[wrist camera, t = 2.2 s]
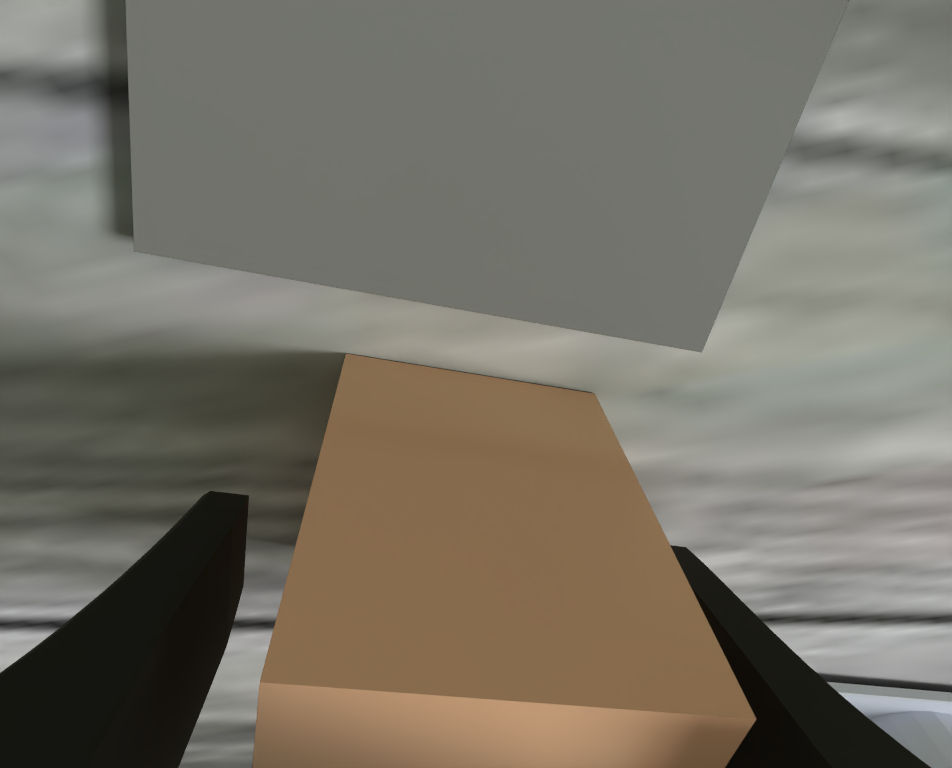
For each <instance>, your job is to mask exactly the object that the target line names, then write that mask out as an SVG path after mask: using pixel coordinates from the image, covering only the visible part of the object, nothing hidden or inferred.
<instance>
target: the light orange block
mask: <svg viewBox="0 0 952 768" xmlns="http://www.w3.org/2000/svg"><path fill="white" fill-rule="evenodd" d="M755 721H756V717H755V715H754V713H753V711H752V709H751V707H750V705H749V703H748V701H747V699H746V697H745V695H744V693H743V691H742V689H741V687H740V685H739V683H738V681H737V679H736V677H735V675H734V673H733V671H732V669H731V667H730V665H729V663H728V661H727V659H726V657H725V655H724V653H723V651H722V649H721V647H720V645H719V643H718V641H717V639H716V637H715V635H714V633H713V631H712V629H711V627H710V625H709V623H708V621H707V619H706V617H705V615H704V613H703V611H702V609H701V607H700V605H699V603H698V601H697V599H696V597H695V595H694V592H693V590H692V588H691V586H690V584H689V582H688V580H687V578H686V576H685V574H684V572H683V570H682V568H681V566H680V564H679V562H678V560H677V558H676V556H675V554H674V552H673V550H672V548H671V546H670V544H669V542H668V540H667V538H666V536H665V534H664V532H663V530H662V528H661V526H660V524H659V522H658V520H657V518H656V516H655V514H654V512H653V510H652V508H651V506H650V504H649V502H648V500H647V498H646V496H645V494H644V492H643V490H642V488H641V486H640V484H639V482H638V480H637V478H636V476H635V474H634V472H633V470H632V468H631V466H630V464H629V462H628V460H627V458H626V456H625V454H624V452H623V450H622V448H621V446H620V444H619V442H618V440H617V438H616V436H615V434H614V432H613V430H612V428H611V426H610V424H609V422H608V420H607V417H606V415H605V413H604V411H603V409H602V407H601V405H600V403H599V401H598V399H597V397H596V395H595V394H594V393H587V392H581V391H575V390H569V389H563V388H556V387H550V386H544V385H538V384H531V383H525V382H519V381H513V380H507V379H500V378H494V377H488V376H482V375H476V374H469V373H463V372H457V371H451V370H444V369H438V368H432V367H426V366H420V365H413V364H407V363H401V362H395V361H389V360H382V359H376V358H370V357H364V356H357V355H351V354H346V355H345V359H344V363H343V367H342V371H341V375H340V378H339V382H338V386H337V390H336V394H335V397H334V401H333V405H332V409H331V413H330V416H329V420H328V424H327V428H326V432H325V436H324V439H323V443H322V447H321V451H320V455H319V458H318V462H317V466H316V470H315V474H314V477H313V481H312V485H311V489H310V493H309V497H308V500H307V504H306V508H305V512H304V516H303V519H302V523H301V527H300V531H299V535H298V538H297V542H296V546H295V550H294V554H293V558H292V561H291V565H290V569H289V573H288V577H287V580H286V584H285V588H284V592H283V596H282V600H281V603H280V607H279V611H278V615H277V619H276V622H275V626H274V630H273V634H272V638H271V641H270V645H269V649H268V653H267V657H266V661H265V664H264V668H263V672H262V676H261V680H260V686H259V697H258V709H257V720H256V732H255V743H254V755H253V766H252V768H725V767H726V765H727V763H728V762H729V760H730V759H731V757H732V756H733V754H734V753H735V751H736V750H737V748H738V747H739V745H740V744H741V742H742V741H743V739H744V738H745V736H746V735H747V733H748V731H749V730H750V728H751V727H752V725H753V724H754V722H755Z"/></svg>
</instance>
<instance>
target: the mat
mask: <svg viewBox="0 0 952 768" xmlns="http://www.w3.org/2000/svg"><path fill="white" fill-rule="evenodd" d="M848 2H849V0H125V3H126V32H127V62H128V91H129V120H130V149H131V178H132V207H133V237H134V252H139V253H145V254H151V255H156V256H162V257H168V258H173V259H179V260H184V261H190V262H196V263H201V264H207V265H213V266H218V267H224V268H229V269H235V270H241V271H246V272H252V273H258V274H263V275H269V276H275V277H280V278H286V279H291V280H297V281H303V282H308V283H314V284H320V285H325V286H331V287H336V288H342V289H348V290H353V291H359V292H365V293H370V294H376V295H382V296H387V297H393V298H398V299H404V300H410V301H415V302H421V303H427V304H432V305H438V306H443V307H449V308H455V309H460V310H466V311H472V312H477V313H483V314H489V315H494V316H500V317H505V318H511V319H517V320H522V321H528V322H534V323H539V324H545V325H550V326H556V327H562V328H567V329H573V330H579V331H584V332H590V333H596V334H601V335H607V336H612V337H618V338H624V339H629V340H635V341H641V342H646V343H652V344H657V345H663V346H669V347H674V348H680V349H686V350H691V351H697V352H702V351H703V348H704V346H705V343H706V341H707V339H708V336H709V334H710V331H711V329H712V327H713V324H714V322H715V320H716V317H717V315H718V312H719V310H720V308H721V305H722V303H723V300H724V298H725V296H726V293H727V291H728V288H729V286H730V284H731V281H732V279H733V277H734V274H735V272H736V269H737V267H738V265H739V262H740V260H741V257H742V255H743V253H744V250H745V248H746V245H747V243H748V241H749V238H750V236H751V234H752V231H753V229H754V226H755V224H756V222H757V219H758V217H759V214H760V212H761V210H762V207H763V205H764V202H765V200H766V198H767V195H768V193H769V191H770V188H771V186H772V183H773V181H774V179H775V176H776V174H777V171H778V169H779V167H780V164H781V162H782V160H783V157H784V155H785V152H786V150H787V148H788V145H789V143H790V140H791V138H792V136H793V133H794V131H795V128H796V126H797V124H798V121H799V119H800V117H801V114H802V112H803V109H804V107H805V105H806V102H807V100H808V97H809V95H810V93H811V90H812V88H813V85H814V83H815V81H816V78H817V76H818V74H819V71H820V69H821V66H822V64H823V62H824V59H825V57H826V54H827V52H828V50H829V47H830V45H831V43H832V40H833V38H834V35H835V33H836V31H837V28H838V26H839V23H840V21H841V19H842V16H843V14H844V11H845V9H846V7H847V4H848Z"/></svg>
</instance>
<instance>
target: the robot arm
mask: <svg viewBox="0 0 952 768" xmlns="http://www.w3.org/2000/svg"><path fill="white" fill-rule="evenodd" d="M248 501H249V496H248V495H240V494H231V493H223V492H214V491H210V492H208V493H206V494H205V495H203V496H202V497H201V498H200V499H199V500H198V502H197V503H196V504H195V505H194V506H193V507H192V508H191V509H190V510H189V511H188V512H187V513H186V514H185V515H184V516H183V517H182V518H181V519H180V520H179V521H178V522H177V523H176V524H175V525H174V526H173V527H172V528H171V529H170V530H169V531H168V532H167V533H166V534H165V535H164V536H163V537H162V538H161V539H160V540H159V541H158V542H157V543H156V544H155V545H154V546H153V547H152V548H151V549H150V550H149V551H148V552H147V553H146V554H145V555H143V556H142V557H141V558H140V559H139V560H138V561H137V562H136V563H135V564H134V565H133V566H131V567H130V568H129V569H128V570H127V571H126V572H125V573H124V574H123V575H122V576H121V577H120V578H118V579H117V580H116V581H115V582H114V583H113V584H112V585H111V586H109V587H108V588H107V589H106V590H105V591H104V592H102V593H101V594H100V595H99V596H98V597H96V598H95V599H94V600H93V601H92V602H90V603H89V604H88V605H87V606H86V607H84V608H83V609H82V610H81V611H80V612H78V613H77V614H76V615H75V616H74V617H72V618H71V619H70V620H69V621H68V622H66V623H65V624H64V625H63V626H62V627H60V628H59V629H58V630H57V631H55V632H54V633H53V634H51V635H50V636H49V637H48V638H46V639H45V640H44V641H42V642H41V643H40V644H39V645H37V646H36V647H35V648H33V649H32V650H31V651H29V652H28V653H27V654H25V655H24V656H23V657H21V658H20V659H19V660H17V661H16V662H15V663H13V664H12V665H10V666H9V667H8V668H6V669H5V670H4V671H2V672H1V673H0V768H178V767H179V764H180V762H181V759H182V757H183V754H184V752H185V749H186V747H187V744H188V742H189V739H190V737H191V734H192V732H193V729H194V727H195V724H196V722H197V719H198V717H199V714H200V712H201V709H202V707H203V704H204V702H205V699H206V697H207V694H208V692H209V689H210V687H211V684H212V682H213V679H214V677H215V674H216V672H217V669H218V667H219V664H220V662H221V659H222V656H223V654H224V651H225V649H226V646H227V643H228V639H229V636H230V632H231V629H232V625H233V622H234V618H235V615H236V611H237V607H238V604H239V600H240V596H241V593H242V589H243V582H244V566H245V550H246V533H247V517H248ZM670 546H671V545H670ZM671 548H672V550H673V552H674V554H675V556H676V558H677V560H678V562H679V564H680V566H681V568H682V570H683V572H684V574H685V576H686V578H687V580H688V582H689V584H690V586H691V588H692V590H693V592H694V595H695V597H696V599H697V601H698V603H699V605H700V607H701V609H702V611H703V613H704V615H705V617H706V619H707V621H708V623H709V625H710V627H711V629H712V631H713V633H714V635H715V637H716V639H717V641H718V643H719V645H720V647H721V649H722V651H723V653H724V655H725V657H726V659H727V661H728V663H729V665H730V667H731V669H732V671H733V673H734V675H735V677H736V679H737V681H738V683H739V685H740V687H741V689H742V691H743V693H744V695H745V697H746V699H747V701H748V703H749V705H750V707H751V709H752V711H753V713H754V715H755V717H756V721H755V722H754V724H753V725H752V727H751V728H750V730H749V731H748V733H747V735H746V736H745V738H744V739H743V741H742V742H741V744H740V745H739V747H738V748H737V750H736V751H735V753H734V754H733V756H732V757H731V759H730V760H729V762H728V763H727V765H726V767H725V768H952V693H950V692H939V691H927V690H916V689H904V688H893V687H881V686H870V685H858V684H847V683H835V682H826V681H825V680H824V679H823V678H822V677H820V676H819V675H818V674H817V673H816V672H815V671H814V670H813V669H812V668H810V667H809V666H808V665H807V664H806V663H805V662H804V661H803V660H802V659H801V658H800V657H799V656H798V655H796V654H795V653H794V652H793V651H792V650H791V649H790V648H789V647H788V646H787V645H786V644H785V643H784V642H783V641H782V640H781V639H780V638H779V637H778V636H777V635H776V634H774V633H773V632H772V631H771V630H770V629H769V628H768V627H767V626H766V625H765V624H764V623H763V622H762V621H761V620H760V619H759V618H758V617H757V616H756V615H755V614H754V613H753V612H752V611H751V610H750V609H749V608H748V607H747V606H746V605H745V604H744V603H743V602H742V601H741V600H740V599H739V598H738V597H737V596H736V595H735V594H734V593H733V592H732V591H731V590H730V589H729V588H728V587H727V586H726V585H725V584H724V583H723V582H722V581H721V580H720V579H719V578H718V577H717V576H716V575H715V574H714V573H713V572H712V571H711V570H710V569H709V568H708V567H707V566H706V565H705V564H704V563H703V562H701V561H700V560H699V559H698V558H697V557H696V556H695V555H694V554H693V553H692V552H691V551H689V550H688V549H687V548H686V547H679V546H671Z"/></svg>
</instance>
